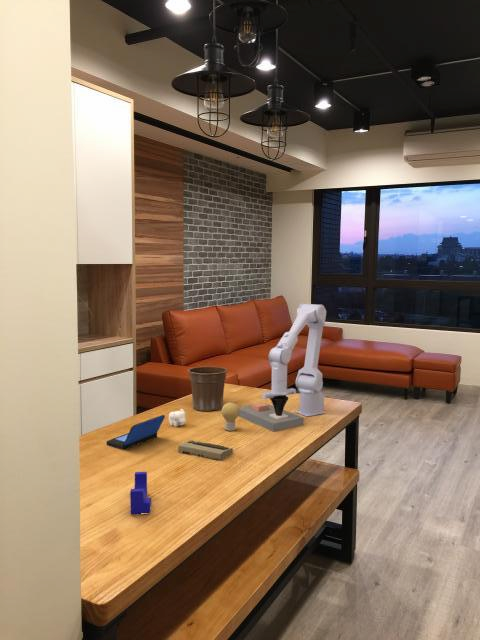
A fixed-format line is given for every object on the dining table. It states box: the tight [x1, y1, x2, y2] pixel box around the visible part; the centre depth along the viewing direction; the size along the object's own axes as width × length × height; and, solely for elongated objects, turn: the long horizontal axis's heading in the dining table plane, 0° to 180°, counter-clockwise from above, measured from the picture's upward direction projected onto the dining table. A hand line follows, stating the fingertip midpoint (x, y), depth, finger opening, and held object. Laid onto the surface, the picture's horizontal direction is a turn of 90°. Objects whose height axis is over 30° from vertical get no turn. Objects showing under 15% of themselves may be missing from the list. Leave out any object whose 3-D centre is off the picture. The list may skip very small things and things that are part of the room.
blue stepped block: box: [129, 471, 152, 515], centre depth 134 cm, size 12×4×6 cm, turn 5°
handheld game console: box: [106, 414, 165, 451], centre depth 179 cm, size 16×13×9 cm
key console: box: [238, 402, 305, 433], centre depth 205 cm, size 14×24×3 cm, turn 34°
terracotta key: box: [250, 401, 270, 412], centre depth 209 cm, size 5×5×3 cm
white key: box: [269, 413, 288, 419], centre depth 200 cm, size 5×5×3 cm
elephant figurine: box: [168, 408, 187, 428], centre depth 197 cm, size 7×8×6 cm
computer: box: [177, 439, 234, 462], centre depth 170 cm, size 16×8×3 cm, turn 63°
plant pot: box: [187, 365, 228, 412], centre depth 221 cm, size 16×16×16 cm
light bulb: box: [221, 402, 240, 432], centre depth 192 cm, size 6×6×10 cm
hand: (278, 415), depth 199 cm, fingers closed, pressing on white key
